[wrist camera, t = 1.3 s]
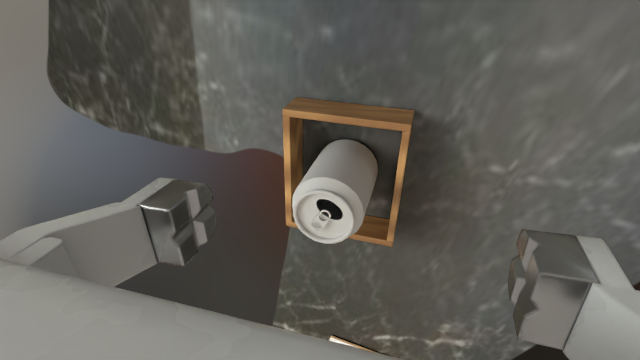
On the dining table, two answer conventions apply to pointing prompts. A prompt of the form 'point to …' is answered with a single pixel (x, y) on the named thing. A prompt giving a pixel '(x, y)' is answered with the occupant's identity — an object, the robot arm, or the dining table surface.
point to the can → (335, 192)
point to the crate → (354, 115)
